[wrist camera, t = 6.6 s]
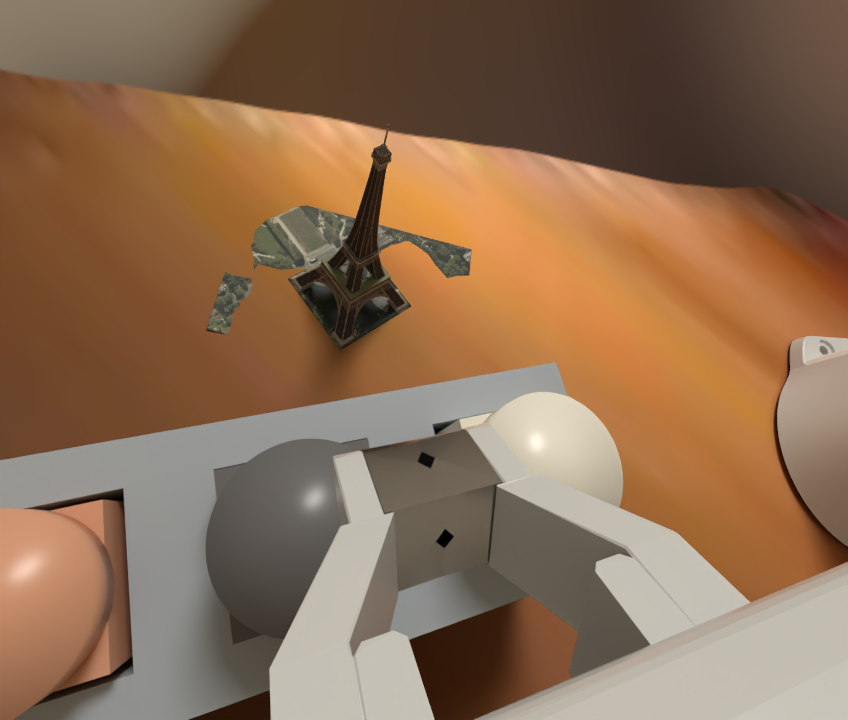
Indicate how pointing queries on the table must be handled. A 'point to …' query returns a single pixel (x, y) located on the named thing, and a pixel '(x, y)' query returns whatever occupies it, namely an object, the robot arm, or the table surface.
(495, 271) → the table surface
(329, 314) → the eiffel tower figurine
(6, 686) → the button terracotta
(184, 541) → the button console
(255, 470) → the button charcoal
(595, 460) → the button cream
